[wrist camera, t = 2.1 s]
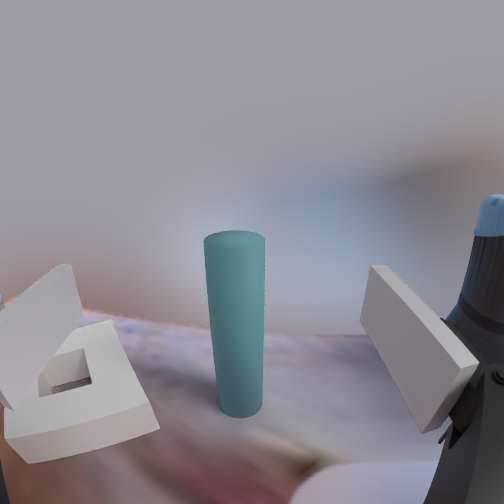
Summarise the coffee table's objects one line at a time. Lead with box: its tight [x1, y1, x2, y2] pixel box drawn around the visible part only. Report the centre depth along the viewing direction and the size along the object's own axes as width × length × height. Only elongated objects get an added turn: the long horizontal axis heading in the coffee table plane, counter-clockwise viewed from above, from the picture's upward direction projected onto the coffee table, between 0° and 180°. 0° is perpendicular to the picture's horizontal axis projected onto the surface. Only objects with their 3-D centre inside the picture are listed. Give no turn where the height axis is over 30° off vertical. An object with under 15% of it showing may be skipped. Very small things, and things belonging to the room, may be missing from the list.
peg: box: [204, 231, 265, 418], centre depth 24 cm, size 4×4×18 cm
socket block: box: [4, 319, 160, 464], centre depth 24 cm, size 16×16×4 cm
